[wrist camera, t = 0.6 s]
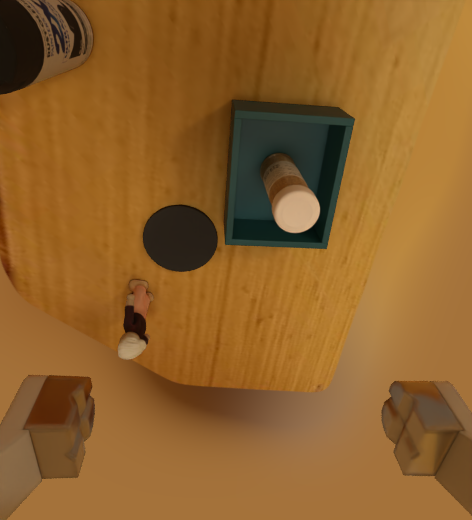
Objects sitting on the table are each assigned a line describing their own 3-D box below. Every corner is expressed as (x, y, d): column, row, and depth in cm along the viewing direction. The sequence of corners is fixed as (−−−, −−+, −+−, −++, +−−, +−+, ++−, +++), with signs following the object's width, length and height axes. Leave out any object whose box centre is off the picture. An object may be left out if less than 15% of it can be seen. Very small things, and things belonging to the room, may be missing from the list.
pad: (141, 202, 52) (141, 204, 52) (219, 206, 53) (219, 208, 53) (144, 268, 57) (144, 270, 57) (215, 271, 58) (215, 272, 58)
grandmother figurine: (117, 279, 58) (96, 339, 47) (141, 269, 57) (125, 328, 46) (143, 317, 62) (129, 381, 51) (166, 309, 61) (157, 371, 50)
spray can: (106, 55, 43) (39, 79, 26) (51, 79, 44) (-49, 117, 27) (73, -16, 40) (-30, -41, 23) (13, 12, 41) (-127, 7, 24)
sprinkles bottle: (270, 193, 52) (287, 242, 41) (252, 163, 50) (265, 206, 39) (301, 175, 51) (328, 220, 40) (285, 144, 49) (309, 182, 38)
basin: (231, 99, 46) (234, 110, 41) (338, 107, 48) (355, 118, 42) (223, 222, 54) (225, 244, 49) (315, 227, 55) (326, 249, 50)
